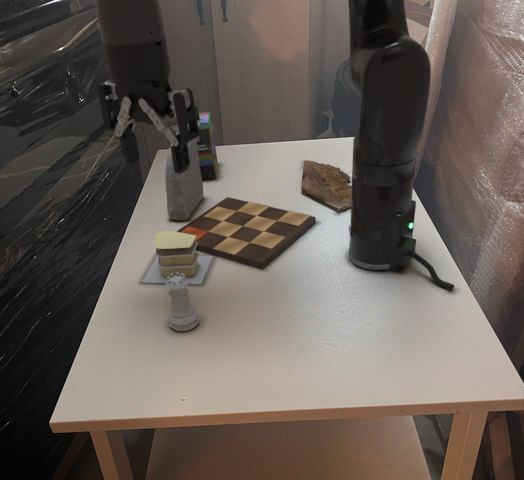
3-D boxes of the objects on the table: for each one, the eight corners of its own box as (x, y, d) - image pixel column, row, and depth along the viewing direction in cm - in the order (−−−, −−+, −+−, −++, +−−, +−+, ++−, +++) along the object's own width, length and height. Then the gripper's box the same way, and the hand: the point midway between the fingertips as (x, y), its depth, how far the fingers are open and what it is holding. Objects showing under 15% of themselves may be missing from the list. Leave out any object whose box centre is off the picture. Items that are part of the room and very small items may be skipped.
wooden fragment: (369, 208, 110) (369, 202, 110) (312, 215, 110) (312, 210, 109) (335, 158, 130) (335, 153, 130) (286, 164, 130) (286, 160, 129)
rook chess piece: (176, 313, 88) (167, 267, 83) (204, 316, 87) (196, 270, 82) (164, 330, 85) (154, 284, 80) (192, 334, 84) (184, 287, 79)
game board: (315, 222, 108) (315, 216, 107) (262, 269, 97) (262, 262, 96) (227, 202, 117) (227, 196, 116) (169, 242, 106) (168, 236, 105)
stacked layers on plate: (213, 256, 101) (209, 227, 97) (201, 284, 94) (196, 254, 91) (157, 254, 102) (152, 226, 99) (141, 282, 96) (134, 253, 92)
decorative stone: (192, 222, 111) (180, 144, 102) (163, 221, 112) (148, 144, 103) (208, 197, 119) (198, 123, 110) (180, 197, 120) (168, 122, 111)
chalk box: (217, 163, 133) (209, 95, 124) (216, 180, 126) (208, 109, 116) (177, 166, 133) (166, 98, 124) (174, 183, 126) (162, 112, 117)
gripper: (67, 38, 70) (99, 168, 81) (159, 45, 64) (182, 185, 74) (110, 25, 75) (135, 149, 85) (199, 30, 69) (215, 164, 79)
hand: (157, 166), depth 80 cm, fingers open, 8 cm apart
